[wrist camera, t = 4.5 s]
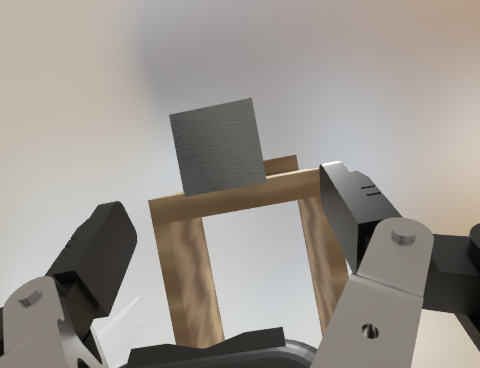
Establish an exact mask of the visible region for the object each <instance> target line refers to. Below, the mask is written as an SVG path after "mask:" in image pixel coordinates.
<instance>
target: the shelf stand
mask: <svg viewBox="0 0 480 368" xmlns="http://www.w3.org/2000/svg"><path fill="white" fill-rule="evenodd" d="M263 163H264V168H265V173H266V179H267V182H264V183H259V184H253V185H248V186H242V187H237V188H232V189H226V190H221V191H215V192H210V193H204V194H199V195H194V196H188V197H185V195H184V192H182V193H178V194H173V195H170V196H165V197H161V198H157V199H153V200H148V202H149V207H150V213H151V218H152V223H153V228H154V233H155V239H156V243H157V249H158V254H159V259H160V264H161V269H162V275H163V280H164V285H165V290H166V295H167V300H168V305H169V311H170V315H171V321H172V326H173V331H174V336H175V341H176V345H180V346H187V347H194V348H208V347H211V346H213V345H215V344H218V343H220V342H223V341H225V338H224V333H223V328H222V323H221V317H220V312H219V307H218V302H217V296H216V291H215V286H214V281H213V275H212V270H211V264H210V259H209V254H208V249H207V244H206V238H205V233H204V228H203V223H202V217H204V216H210V215H216V214H221V213H227V212H232V211H238V210H244V209H250V208H255V207H261V206H266V205H272V204H278V203H283V202H288V201H294V200H298V205H299V210H300V216H301V221H302V227H303V232H304V238H305V243H306V249H307V254H308V259H309V265H310V270H311V276H312V281H313V287H314V292H315V298H316V303H317V308H318V314H319V320H320V325H321V331H322V336H324V334H325V331H326V329H327V327H328V324H329V322H330V320H331V317H332V315H333V313H334V310H335V308H336V306H337V304H338V301H339V299H340V297H341V294H342V292H343V290H344V287H345V285H346V283H347V280H348V278H349V276H348V270H347V264H346V259H345V255H344V253H343V251H342V249H341V247H340V245H339V243H338V241H337V239H336V237H335V235H334V232H333V230H332V228H331V226H330V224H329V222H328V220H327V218H326V216H325V214H324V211H323V208H322V204H321V195H320V174H319V168H315V169H306V170H299V168H298V163H297V158H296V155H292V156H287V157H282V158H276V159H271V160H266V161H263Z"/></svg>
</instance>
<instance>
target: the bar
mask: <svg viewBox="0 0 480 368" xmlns="http://www.w3.org/2000/svg"><path fill="white" fill-rule="evenodd" d="M169 117H170V122H171V127H172V132H173V138H174V142H175V148H176V153H177V159H178V164H179V168H180V174H181V179H182V185H183V190H184V195H185V197H188V196H194V195H199V194H204V193H210V192H215V191H221V190H226V189H232V188H237V187H242V186H248V185H253V184H259V183H264V182H267V179H266V173H265V168H264V163H263V157H262V152H261V147H260V141H259V136H258V130H257V125H256V119H255V114H254V108H253V103H252V98H249V99H244V100H239V101H234V102H230V103H225V104H220V105H215V106H210V107H205V108H201V109H196V110H190V111H186V112H181V113H176V114H171V115H169Z"/></svg>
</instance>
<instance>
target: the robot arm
mask: <svg viewBox="0 0 480 368" xmlns="http://www.w3.org/2000/svg"><path fill="white" fill-rule="evenodd" d="M319 174H320V195H321V204H322V208H323V211H324V214H325V216H326V218H327V220H328V222H329V224H330V226H331V228H332V230H333V232H334V235H335V237H336V239H337V241H338V243H339V245H340V247H341V249H342V251H343V253H344V255H345V258H346V260H347V262H348V264H349V266H350V268H351V270H352V272H353V273H352V274H351V275H350V276H349V278H348V280H347V283H346V285H345V287H344V290H343V292H342V294H341V297H340V299H339V301H338V304H337V306H336V308H335V310H334V313H333V315H332V317H331V320H330V322H329V324H328V327H327V329H326V331H325V334H324V336H323V338H322V341H321V343H320V345H319V348H318V349H316V348H314V347H312V346H310V345H307V344H305V343H302V342H298V341H295V340H288V339H285V337H284V332H283V327H279V328H272V329H264V330H258V331H251V332H244V333H242V334H239V335H237V336H235V337H232V338H230V339H228V340H225V341H223V342H220V343H218V344H215V345H213V346H211V347H208V348H194V347H187V346H180V345H173V344H162V345H155V346H149V347H142V348H135V349H131V352H130V355H129V359H128V363H127V364H125V365H123V366H121V367H119V368H411V363H412V357H413V352H414V347H415V342H416V337H417V331H418V325H419V321H420V315H421V310H422V309H427V310H434V311H441V312H448V313H454V314H455V316H456V317H457V319H458V320H459V322H460V323H461V324H462V326H463V328H464V329H465V331H466V332H467V334H468V335H469V336H470V338H471V339H472V341H473V342H474V344H475V345H476V347H477V348H478V350H479V351H480V224H477V225H475V226H473V227H472V229H471V230H470V234H469V236H468V237H467V236H451V235H450V236H449V235H438V234H432V232H431V231H430V230H429V229H428V228H427V227H426V226H424V225H423V224H421V223H419V222H417V221H415V220H411V219H408V218H403V217H402V216H401V215H400V214H399V212H398V211H397V210H396V209H395V208H394V207H393V205H392V204H391V203H390V202H389V201H388V199H387V198H386V197H385V196H384V195H383V194H381V191H380V190H379V189H378V188H377V187H376V186H375V184H374V183H373V182H372V181H371V180H370V178H369V177H368V176H365V175H364V174H362V173H360V172H358V171H353V172H348V170H347V169H346V167H345V166H344V165H343V163H342V162H341V161H336V162H331V163H325V164H321V165H320V167H319ZM136 244H137V234H136V230H135V228H134V226H133V224H132V222H131V220H130V218H129V217H128V214H127V212H126V210H125V208H124V206H123V205H122V204H121V202H119V201H116V202H110V203H105V204H100V205H98V206H97V208H96V209H95V210H94V212H93V213H92V215H91V216H90V218H89V219H87V220H86V221H85V222H84V223H83V224H82V225H81V226H80V227H78V228H77V230H76V231H75V233H74V234H73V235H72V237H71V240H69V241H68V243H67V244H66V246H65V248H64V249H63V250H62V251H61V253H60V254H59V256H58V257H57V259H56V260H55V262H54V263H53V264H52V266H51V268H50V269H49V270H48V272H47V273H46V275H45V276H43V277H39V278H36V279H33V280H31V281H29V282H27V283H26V284H24V285H23V286H21V287H20V288H18V289H17V290H16V291H15V292H14V293H13V294H12V295H11V296H10V297H9V298H8V300H7V301H6V303H5V305H4V307H1V308H0V368H109V367H108V365H107V362H106V359H105V356H104V354H103V351H102V349H101V346H100V343H99V340H98V338H97V335H96V332H95V330H94V329H93V327H92V326H91V324H92V322H93V319H96V318H102V317H108V316H109V314H110V312H111V309H112V306H113V304H114V301H115V299H116V296H117V293H118V291H119V288H120V286H121V283H122V281H123V278H124V276H125V273H126V270H127V268H128V265H129V263H130V260H131V258H132V255H133V252H134V249H135V247H136Z"/></svg>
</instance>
